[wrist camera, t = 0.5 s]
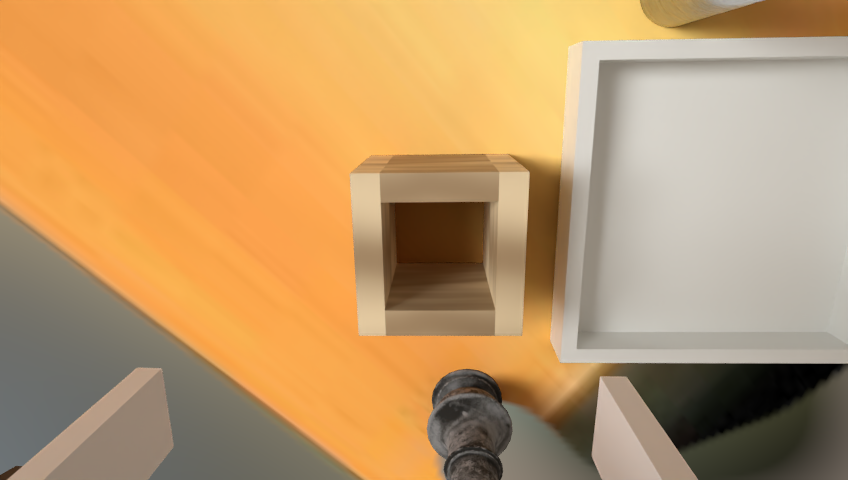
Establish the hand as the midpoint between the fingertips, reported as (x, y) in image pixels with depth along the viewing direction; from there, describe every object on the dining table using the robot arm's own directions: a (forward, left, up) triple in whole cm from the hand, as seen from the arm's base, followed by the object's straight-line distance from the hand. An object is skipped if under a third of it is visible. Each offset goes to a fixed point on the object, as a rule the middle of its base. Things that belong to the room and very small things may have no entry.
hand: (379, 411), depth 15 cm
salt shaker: (+13, +4, -20) cm, 24 cm away
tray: (-2, +20, -20) cm, 28 cm away
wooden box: (-1, +2, -20) cm, 20 cm away
